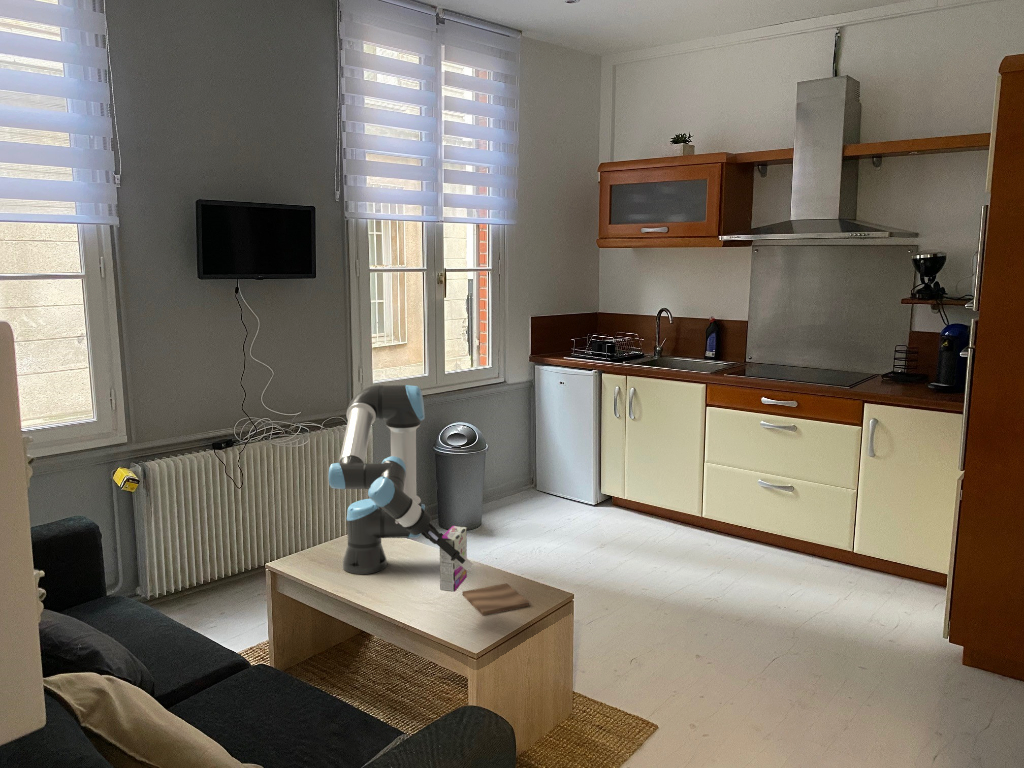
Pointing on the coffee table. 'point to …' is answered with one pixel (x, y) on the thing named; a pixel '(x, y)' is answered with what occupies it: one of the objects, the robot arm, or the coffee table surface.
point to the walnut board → (495, 599)
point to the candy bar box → (449, 569)
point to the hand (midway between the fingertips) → (462, 559)
